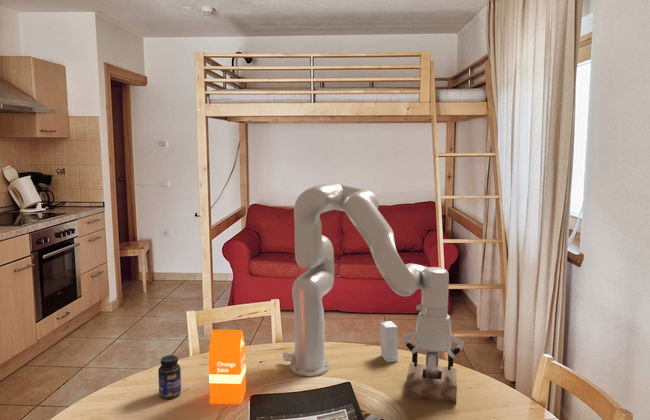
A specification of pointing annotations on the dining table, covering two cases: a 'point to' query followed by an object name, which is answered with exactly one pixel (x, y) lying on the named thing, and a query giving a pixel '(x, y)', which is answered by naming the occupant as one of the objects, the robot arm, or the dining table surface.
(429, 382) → the socket block
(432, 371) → the pin
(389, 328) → the skincare box
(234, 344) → the orange juice
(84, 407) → the dining table surface
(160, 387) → the pill bottle
